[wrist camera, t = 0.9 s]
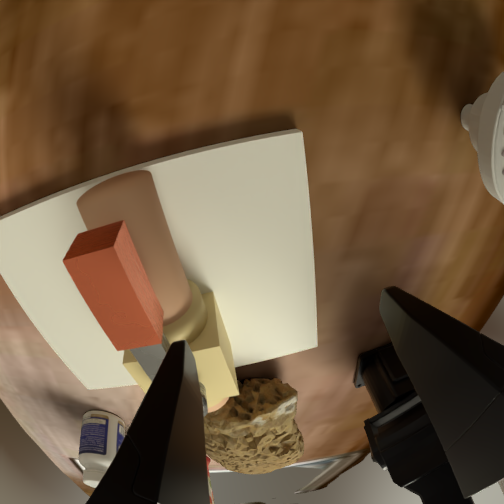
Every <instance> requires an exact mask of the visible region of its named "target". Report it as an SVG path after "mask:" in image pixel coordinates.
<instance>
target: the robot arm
mask: <svg viewBox="0 0 504 504" xmlns="http://www.w3.org/2000/svg"><path fill="white" fill-rule="evenodd" d="M379 310H380V314H381V317H382V319H383V321H384V324H385V326H386V329H387V331H388V333H389V336H390V338H391V341H392V344H389V345H386V346H384V347H381V348H378V349H375V350H373V351H370V352H367V353H364V354H362V355H360V356H359V359H358V365H357V371H356V377H355V383H354V385H355V387H356V388H359V387H362V386H366V388H367V390H368V392H369V394H370V397H371V399H372V401H373V403H374V405H375V407H376V410H377V412H378V414H377V415H375V416H373V417H372V418H370V419H369V418H368V419H367V420H365V421H364V423H365V426H364V429H365V431H366V434H367V437H368V440H369V444H370V450H371V457H372V459H373V462H376V463H378V464H379V465H380V466H381V467H382V468H383V469H384V470H388V471H389V473H390V475H391V478H392V480H393V482H394V483H396V484H397V485H398V486H400V487H404V488H406V489H408V490H410V491H411V492H413V493H415V494H417V495H419V496H420V498H421V500H422V502H423V504H474V501H473V499H472V497H471V496H472V495H474V494H476V493H478V492H480V491H482V490H484V489H486V488H488V487H489V486H491V485H493V484H495V483H497V482H498V483H499V485H500V487H501V489H502V492H503V494H504V345H501V344H500V343H498V342H496V341H494V340H492V339H490V338H489V337H487V336H485V335H483V334H480V332H478V331H476V330H475V329H473V328H471V327H469V326H467V325H466V324H464V323H462V322H460V321H459V320H457V319H455V318H453V317H451V316H450V315H448V314H446V313H444V312H442V311H440V310H439V309H437V308H435V307H433V306H431V305H429V304H428V303H426V302H424V301H422V300H420V299H418V298H417V297H415V296H413V295H411V294H409V293H407V292H405V291H403V290H402V289H400V288H398V287H396V286H391V287H388V288H384V289H383V290H382V293H381V299H380V306H379ZM86 504H210V496H209V485H208V474H207V461H206V447H205V432H204V414H203V403H202V397H201V391H200V385H199V379H198V373H197V367H196V361H195V358H194V355H193V353H192V351H191V349H190V347H189V345H188V343H187V341H186V340H179V341H174V342H173V343H172V344H171V345H170V347H169V349H168V351H167V353H166V355H165V357H164V359H163V361H162V363H161V365H160V367H159V369H158V371H157V373H156V375H155V377H154V379H153V381H152V383H151V385H150V387H149V389H148V391H147V393H146V395H145V397H144V399H143V401H142V403H141V405H140V407H139V409H138V411H137V413H136V415H135V417H134V419H133V421H132V423H131V425H130V427H129V429H128V431H127V435H125V437H124V439H123V441H122V444H121V446H120V447H119V449H118V451H117V453H116V455H115V457H114V459H113V461H112V462H111V464H110V466H109V467H108V469H107V471H106V473H105V474H104V476H103V477H102V479H101V480H100V482H99V484H98V485H97V487H96V488H95V490H94V492H93V493H92V495H91V496H90V498H89V500H88V501H87V502H86Z"/></svg>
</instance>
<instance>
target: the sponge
mask: <svg viewBox="0 0 504 504" xmlns="http://www.w3.org/2000/svg"><path fill="white" fill-rule="evenodd" d="M237 384H238V389H239V395H236V396H231V397H229V399H228V400H227V402H226V403H225V404H224V405H223V406H222V407H221V408H219V409H218V410H216V411H213V412H209V413H207V415H206V416H204V432H205V447H206V454H207V455H208V456H209V457H210V458H211V459H213V460H214V461H216V462H217V463H220V464H221V465H222V466H223V467H225V468H226V469H227V470H230V471H234V472H239V473H245V474H265V473H268V472H272V471H273V470H275V469H280V468H282V467H285V466H289V465H291V464H293V463H295V462H297V461H298V459H299V458H300V457H301V456H302V455H303V453H304V441H303V436H302V434H301V432H300V431H299V429H298V428H297V424H296V423H295V420H294V419H293V418H294V416H295V414H296V404H297V391H296V390H295V389H293V388H292V387H291V386H290V385H289V384H288V383H286V384H282V381H281V380H280V379H277V378H274V379H272V380H269V379H256V378H255V379H251V381H249V380H247V379H245V380H244V383H243V385H242V384H241V383H240V381H239V380H237Z"/></svg>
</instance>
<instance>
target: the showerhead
mask: <svg viewBox="0 0 504 504" xmlns="http://www.w3.org/2000/svg"><path fill="white" fill-rule="evenodd" d="M461 123H462V126H463V127H464V128H465V129H466V130H468V131H469V136H470V140H471V142H472V145H473V147H474V148H475V150H476V151H477V152H478V163H479V169H480V174H481V177H482V180H483V183H484V185H485V187H486V188H487V190H488V191H489V193H490V194H491V195H492V196H494V197H495V198H496V199H498V200H499V201H500V202H502V203H503V204H504V72H502V73H501V74H500V75H499V76H498V77H497V78H496V79H495V81H494V82H493V84H492V86H491V87H490V89H489V91H488V93H484V94H482V95H481V96H479V97H478V98H477V99H476V101H475V102H474V104H473V105H472V104H467V105H465V106H464V108H463V110H462V112H461Z"/></svg>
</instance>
